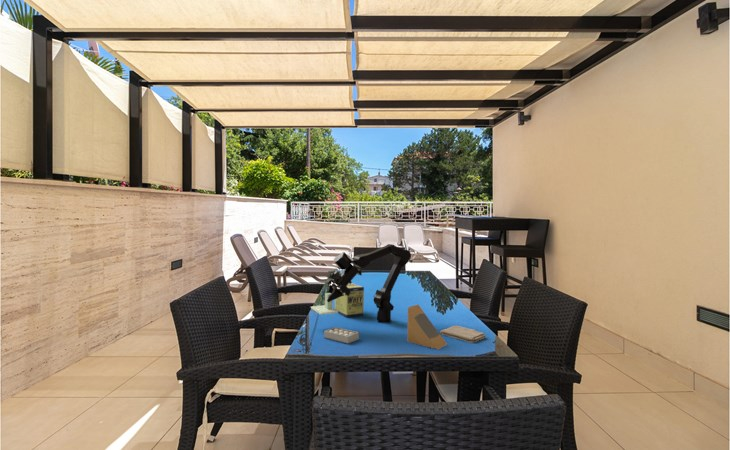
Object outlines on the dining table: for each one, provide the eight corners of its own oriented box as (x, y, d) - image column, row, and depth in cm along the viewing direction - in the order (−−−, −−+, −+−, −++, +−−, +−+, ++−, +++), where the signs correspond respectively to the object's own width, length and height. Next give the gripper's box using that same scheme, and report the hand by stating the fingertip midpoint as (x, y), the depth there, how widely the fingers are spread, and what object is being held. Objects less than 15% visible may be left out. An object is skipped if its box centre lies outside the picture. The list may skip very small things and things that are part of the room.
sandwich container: (438, 350, 157) (439, 313, 156) (406, 341, 167) (407, 307, 166) (448, 344, 163) (449, 309, 163) (417, 337, 173) (418, 303, 173)
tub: (335, 333, 176) (335, 326, 176) (358, 339, 168) (358, 332, 168) (324, 337, 169) (324, 331, 169) (347, 343, 162) (347, 336, 162)
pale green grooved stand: (326, 306, 191) (327, 290, 190) (337, 312, 179) (338, 295, 179) (310, 308, 187) (310, 292, 186) (320, 314, 175) (321, 297, 175)
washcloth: (473, 344, 165) (473, 337, 165) (438, 335, 178) (438, 328, 178) (487, 339, 173) (487, 332, 173) (452, 330, 186) (452, 323, 186)
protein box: (346, 317, 203) (347, 288, 203) (334, 311, 217) (334, 283, 217) (364, 315, 209) (364, 287, 208) (350, 309, 222) (351, 282, 222)
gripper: (329, 262, 193) (308, 286, 189) (344, 267, 177) (322, 293, 172) (343, 277, 197) (323, 300, 192) (360, 283, 181) (338, 309, 176)
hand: (326, 300), depth 183 cm, fingers closed on pale green grooved stand, 3 cm apart
